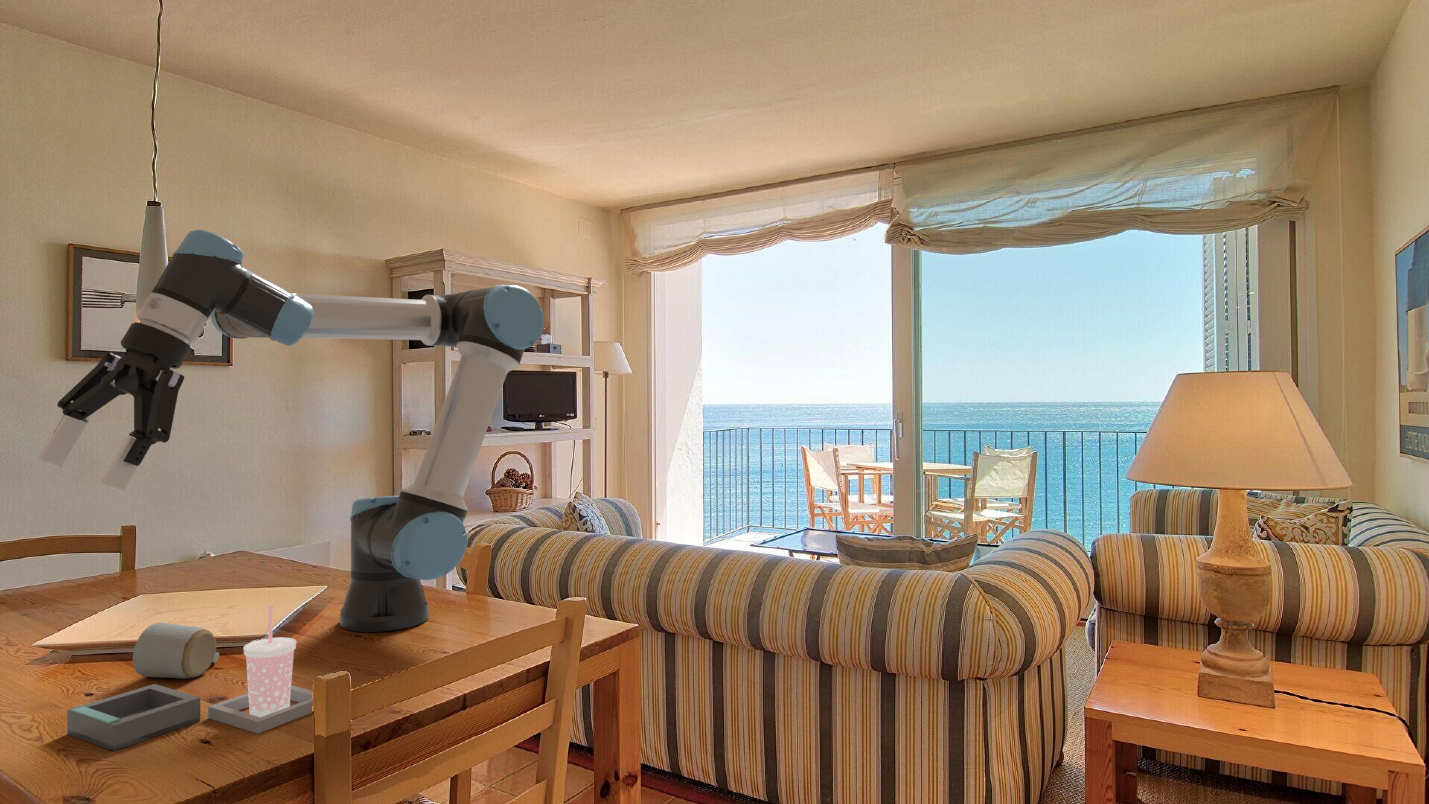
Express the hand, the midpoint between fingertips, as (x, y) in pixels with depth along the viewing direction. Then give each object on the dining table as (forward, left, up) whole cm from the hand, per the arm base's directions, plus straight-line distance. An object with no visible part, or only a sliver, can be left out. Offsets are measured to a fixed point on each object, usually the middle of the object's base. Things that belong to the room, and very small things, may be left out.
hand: (79, 474), depth 107 cm
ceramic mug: (-14, -2, -31) cm, 34 cm away
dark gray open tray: (0, +13, -31) cm, 33 cm away
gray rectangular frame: (-11, +23, -31) cm, 40 cm away
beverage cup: (-11, +23, -31) cm, 40 cm away
